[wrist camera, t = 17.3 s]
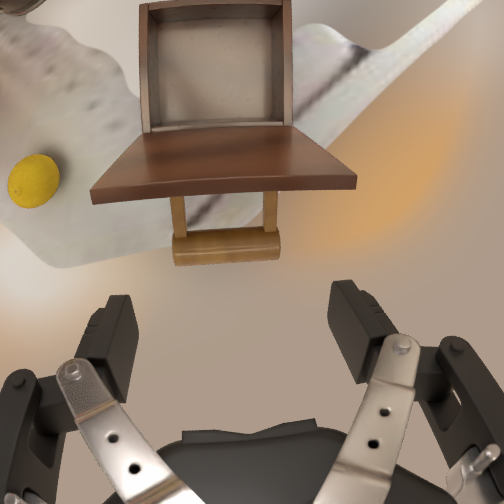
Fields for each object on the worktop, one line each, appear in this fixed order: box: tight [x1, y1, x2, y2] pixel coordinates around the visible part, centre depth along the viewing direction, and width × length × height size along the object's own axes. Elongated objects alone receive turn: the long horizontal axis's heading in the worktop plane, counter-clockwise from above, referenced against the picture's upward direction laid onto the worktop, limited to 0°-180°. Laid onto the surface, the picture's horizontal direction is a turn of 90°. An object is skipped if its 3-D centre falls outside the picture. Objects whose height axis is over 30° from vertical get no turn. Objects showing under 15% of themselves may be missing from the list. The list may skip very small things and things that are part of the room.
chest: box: [139, 0, 293, 134], centre depth 26 cm, size 13×13×6 cm
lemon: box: [8, 154, 60, 208], centre depth 28 cm, size 6×6×8 cm
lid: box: [90, 126, 357, 266], centre depth 22 cm, size 13×13×6 cm
